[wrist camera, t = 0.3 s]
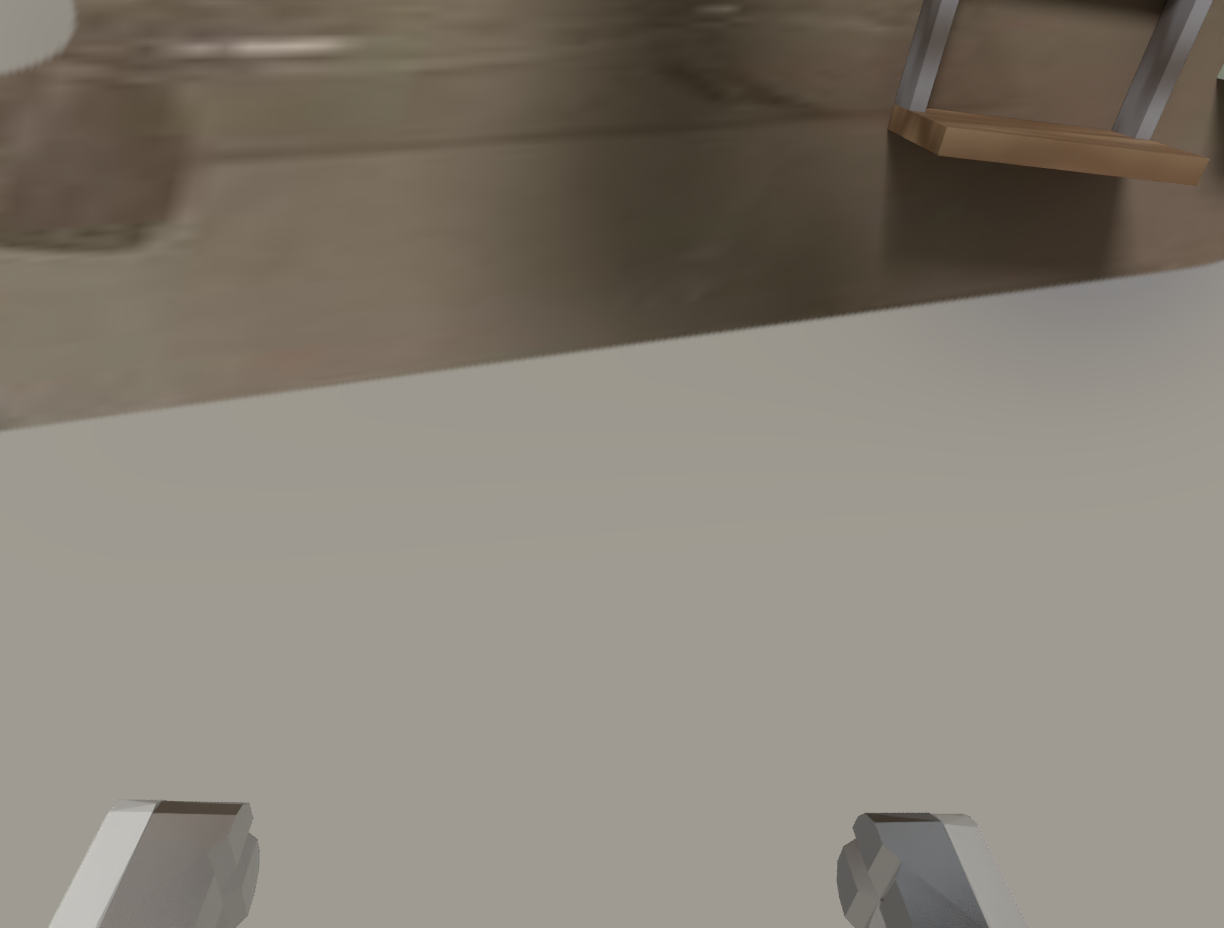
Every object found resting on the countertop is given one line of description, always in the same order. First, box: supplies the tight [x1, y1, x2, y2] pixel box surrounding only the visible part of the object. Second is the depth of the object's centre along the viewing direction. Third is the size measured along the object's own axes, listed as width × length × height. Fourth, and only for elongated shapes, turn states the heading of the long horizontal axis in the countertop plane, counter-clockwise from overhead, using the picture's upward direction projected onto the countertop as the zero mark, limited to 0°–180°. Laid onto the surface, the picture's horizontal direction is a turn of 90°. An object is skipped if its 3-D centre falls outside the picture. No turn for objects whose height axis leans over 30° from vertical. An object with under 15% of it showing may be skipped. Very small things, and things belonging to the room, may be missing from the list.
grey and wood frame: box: [888, 0, 1213, 186], centre depth 46 cm, size 12×16×8 cm
